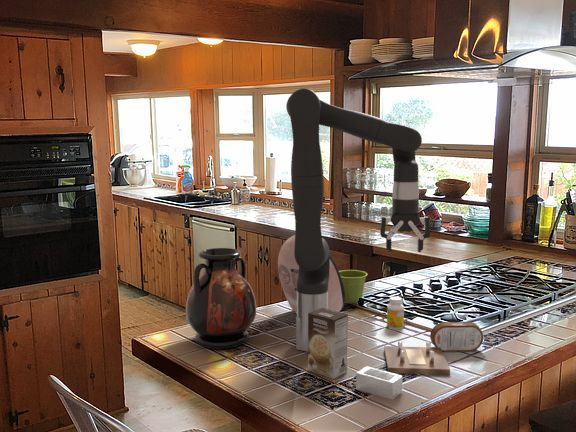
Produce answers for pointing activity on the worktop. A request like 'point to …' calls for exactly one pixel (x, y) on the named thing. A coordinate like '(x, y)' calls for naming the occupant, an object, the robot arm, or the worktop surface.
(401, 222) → the robot arm
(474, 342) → the tin
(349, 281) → the plant pot
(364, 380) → the white rectangular box
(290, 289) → the pink rounded upright piece
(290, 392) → the worktop surface
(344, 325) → the coffee box
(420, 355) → the pin tray
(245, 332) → the amphora vase
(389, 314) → the supplement bottle
